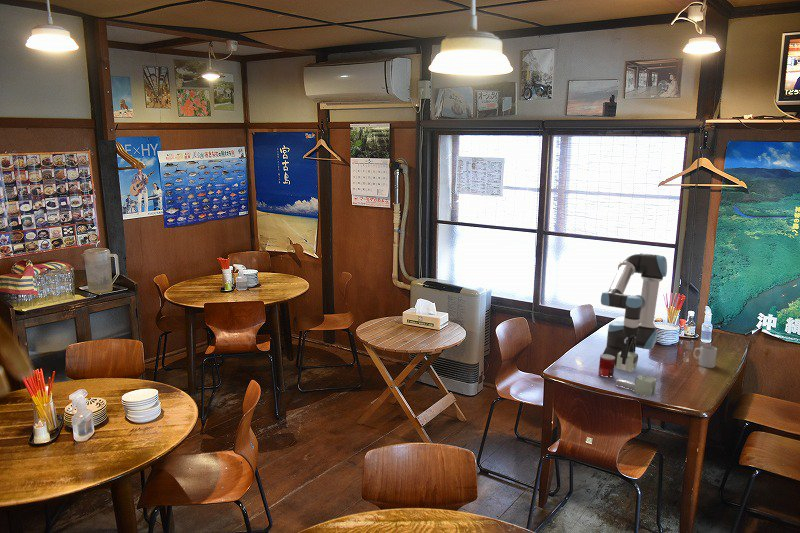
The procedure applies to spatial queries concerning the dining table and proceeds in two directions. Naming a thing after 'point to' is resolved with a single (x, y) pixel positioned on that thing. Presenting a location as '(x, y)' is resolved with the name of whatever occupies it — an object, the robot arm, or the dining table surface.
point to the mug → (706, 356)
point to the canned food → (606, 365)
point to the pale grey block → (639, 385)
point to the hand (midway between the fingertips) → (626, 367)
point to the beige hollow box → (630, 363)
